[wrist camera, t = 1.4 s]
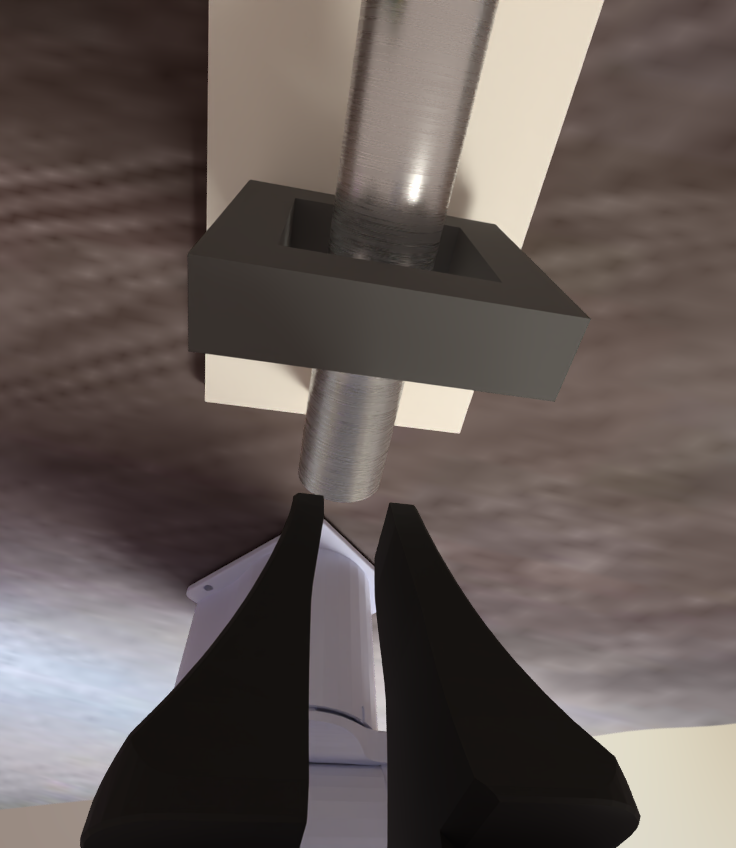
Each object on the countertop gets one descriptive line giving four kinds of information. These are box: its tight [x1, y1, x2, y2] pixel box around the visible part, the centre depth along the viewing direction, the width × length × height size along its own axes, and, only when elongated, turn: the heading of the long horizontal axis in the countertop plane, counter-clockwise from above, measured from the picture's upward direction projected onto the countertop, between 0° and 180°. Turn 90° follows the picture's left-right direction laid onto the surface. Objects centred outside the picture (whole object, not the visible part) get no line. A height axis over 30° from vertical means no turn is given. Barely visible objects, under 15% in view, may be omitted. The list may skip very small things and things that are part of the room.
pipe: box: [298, 0, 499, 503], centre depth 12 cm, size 20×3×3 cm, turn 170°
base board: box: [205, 0, 604, 434], centre depth 17 cm, size 22×11×1 cm, turn 170°
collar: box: [188, 180, 591, 402], centre depth 14 cm, size 2×8×8 cm, turn 80°
